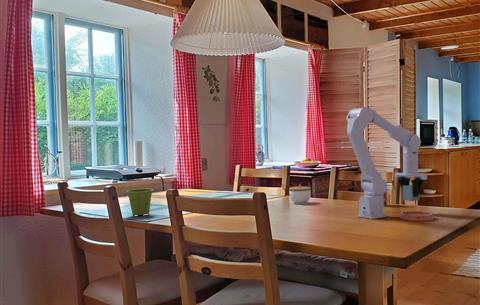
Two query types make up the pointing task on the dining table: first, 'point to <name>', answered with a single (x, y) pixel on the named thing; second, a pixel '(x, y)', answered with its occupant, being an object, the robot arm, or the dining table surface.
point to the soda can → (385, 197)
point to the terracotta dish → (416, 215)
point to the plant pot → (140, 200)
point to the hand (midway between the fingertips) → (411, 196)
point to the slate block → (409, 193)
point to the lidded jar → (300, 194)
